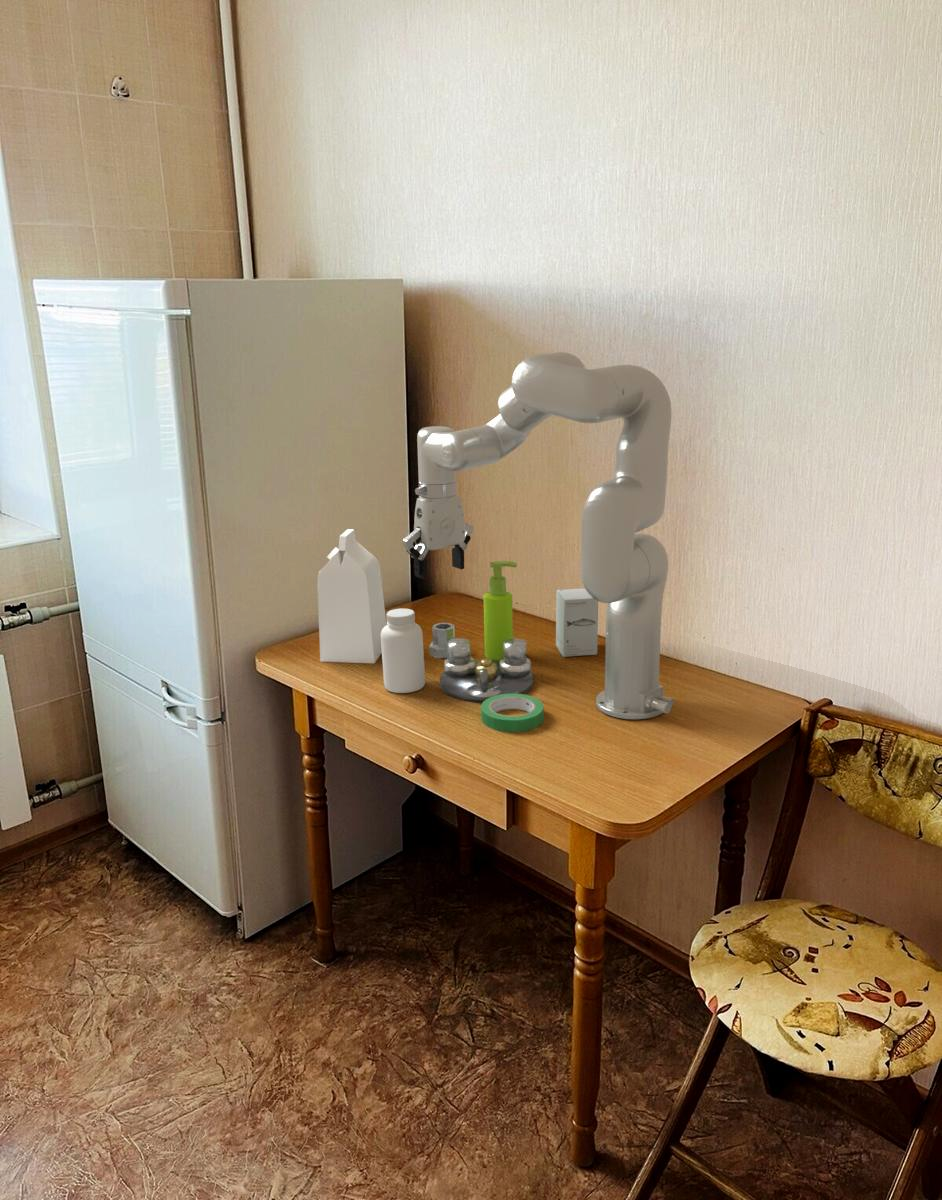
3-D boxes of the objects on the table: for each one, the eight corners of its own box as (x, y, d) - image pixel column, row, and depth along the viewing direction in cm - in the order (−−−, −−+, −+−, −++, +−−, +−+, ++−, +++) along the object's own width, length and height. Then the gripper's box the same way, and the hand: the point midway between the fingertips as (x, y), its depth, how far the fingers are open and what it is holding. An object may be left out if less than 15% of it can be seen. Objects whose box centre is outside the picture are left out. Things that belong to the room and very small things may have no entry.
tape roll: (549, 730, 164) (549, 716, 164) (486, 736, 163) (486, 721, 162) (536, 704, 175) (536, 690, 174) (477, 709, 173) (476, 695, 173)
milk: (374, 663, 195) (366, 540, 187) (320, 661, 197) (310, 539, 189) (388, 642, 207) (381, 525, 199) (337, 641, 208) (328, 525, 200)
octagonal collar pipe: (463, 653, 199) (462, 626, 197) (442, 660, 196) (441, 633, 194) (446, 646, 203) (445, 619, 202) (424, 653, 200) (423, 626, 198)
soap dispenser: (518, 659, 195) (517, 566, 189) (484, 660, 195) (482, 566, 189) (517, 649, 201) (516, 558, 194) (484, 650, 201) (482, 558, 195)
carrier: (552, 683, 183) (552, 648, 181) (481, 710, 172) (480, 673, 170) (490, 658, 196) (489, 625, 194) (420, 682, 185) (419, 647, 183)
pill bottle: (399, 675, 189) (395, 603, 184) (433, 682, 185) (430, 609, 180) (375, 689, 182) (370, 615, 178) (410, 697, 178) (406, 622, 174)
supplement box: (563, 658, 195) (563, 599, 191) (555, 645, 202) (555, 588, 198) (598, 655, 196) (599, 597, 192) (589, 643, 203) (590, 586, 199)
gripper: (414, 499, 181) (417, 585, 186) (483, 486, 191) (483, 568, 197) (391, 493, 186) (394, 577, 192) (459, 481, 197) (460, 560, 202)
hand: (439, 572), depth 194 cm, fingers open, 9 cm apart
